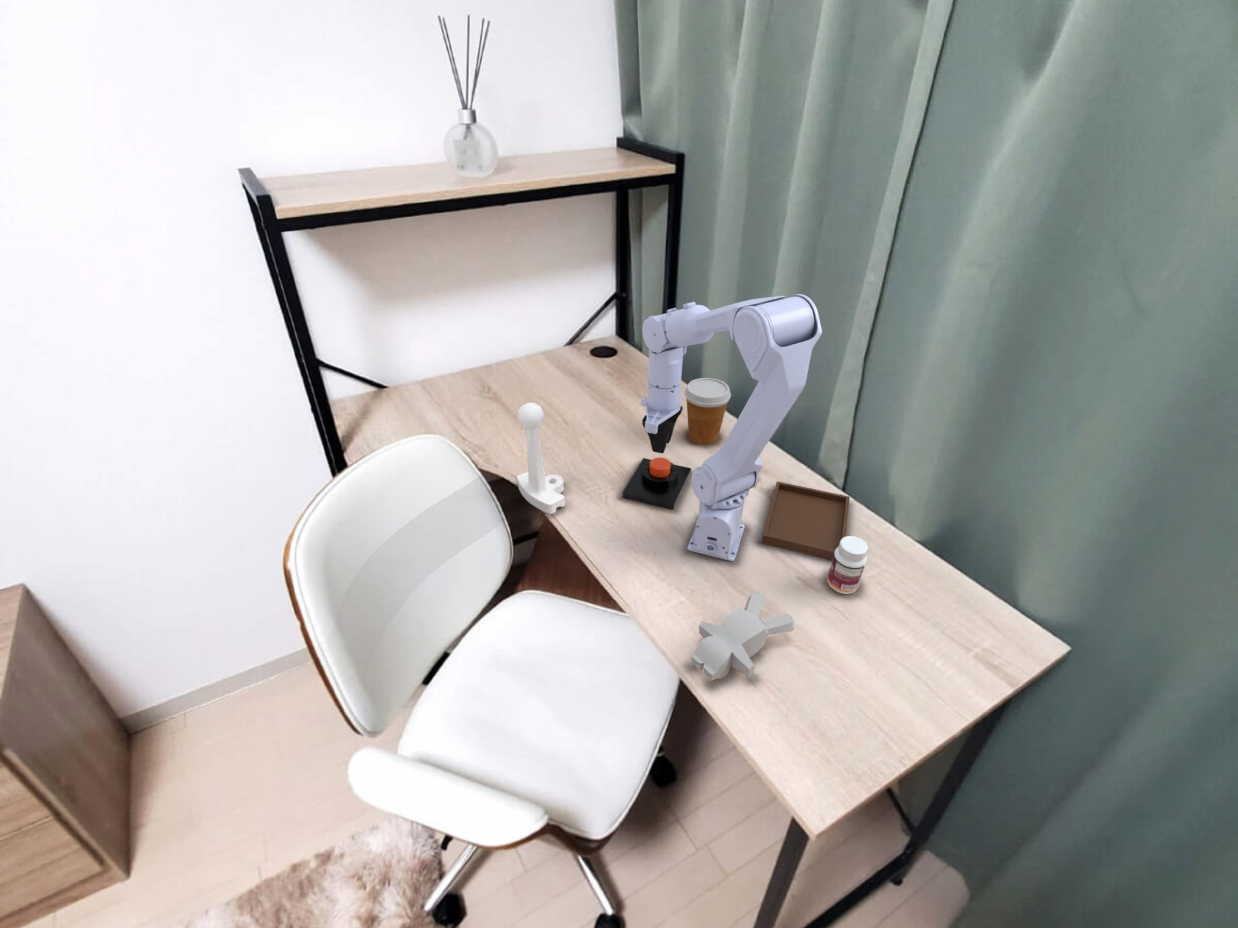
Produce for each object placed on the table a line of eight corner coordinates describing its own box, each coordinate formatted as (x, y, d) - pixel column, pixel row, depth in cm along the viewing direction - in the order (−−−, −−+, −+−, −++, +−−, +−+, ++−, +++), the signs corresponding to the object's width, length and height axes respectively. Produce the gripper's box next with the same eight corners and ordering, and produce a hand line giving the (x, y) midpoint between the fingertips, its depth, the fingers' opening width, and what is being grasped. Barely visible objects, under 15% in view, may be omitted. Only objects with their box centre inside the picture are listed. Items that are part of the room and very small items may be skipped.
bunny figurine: (676, 635, 82) (751, 576, 89) (677, 656, 85) (749, 598, 92) (728, 683, 76) (804, 616, 83) (727, 703, 79) (800, 637, 86)
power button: (666, 479, 113) (667, 471, 112) (646, 475, 114) (646, 467, 113) (672, 468, 116) (673, 459, 115) (653, 463, 117) (653, 455, 116)
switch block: (673, 510, 110) (674, 497, 108) (622, 498, 113) (622, 485, 111) (690, 473, 119) (692, 461, 117) (643, 463, 122) (643, 451, 120)
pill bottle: (833, 568, 98) (845, 529, 93) (862, 582, 96) (875, 543, 91) (821, 585, 95) (832, 546, 90) (850, 599, 93) (863, 560, 88)
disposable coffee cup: (674, 441, 128) (677, 392, 121) (691, 421, 135) (695, 373, 128) (716, 453, 125) (722, 403, 118) (731, 432, 132) (738, 383, 125)
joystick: (512, 488, 115) (501, 396, 104) (545, 473, 119) (537, 382, 107) (545, 517, 108) (537, 422, 97) (579, 500, 112) (575, 407, 101)
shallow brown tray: (841, 562, 99) (843, 554, 98) (761, 542, 103) (762, 535, 102) (847, 504, 112) (849, 496, 110) (775, 488, 115) (777, 481, 114)
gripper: (655, 360, 111) (652, 423, 118) (628, 396, 100) (627, 463, 107) (692, 366, 109) (687, 430, 116) (669, 403, 98) (665, 471, 105)
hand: (661, 446), depth 112 cm, fingers open, 3 cm apart
